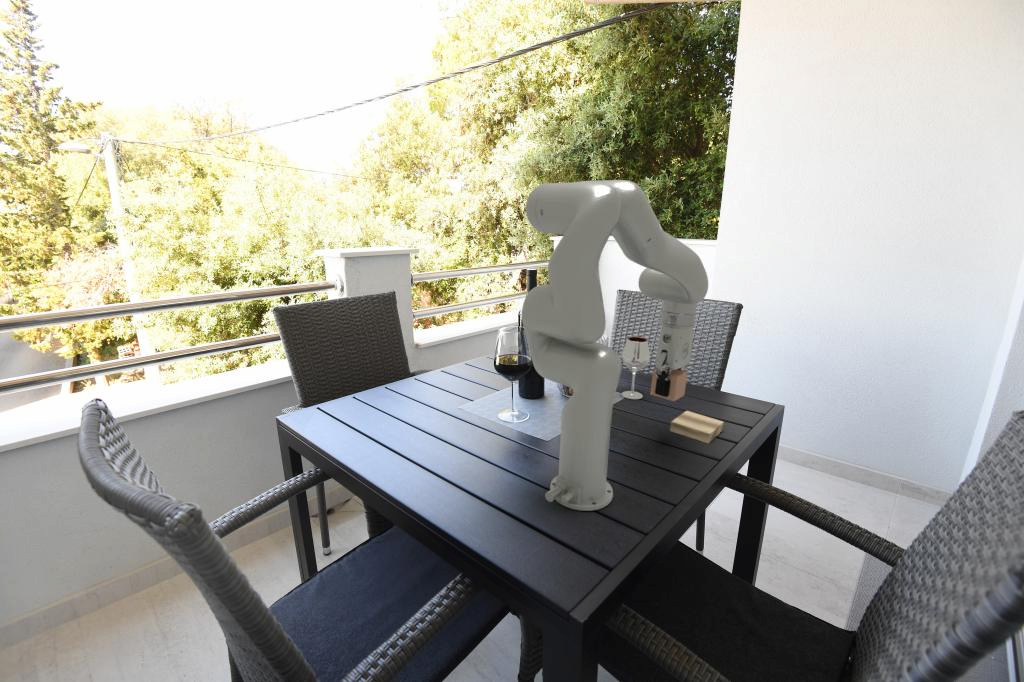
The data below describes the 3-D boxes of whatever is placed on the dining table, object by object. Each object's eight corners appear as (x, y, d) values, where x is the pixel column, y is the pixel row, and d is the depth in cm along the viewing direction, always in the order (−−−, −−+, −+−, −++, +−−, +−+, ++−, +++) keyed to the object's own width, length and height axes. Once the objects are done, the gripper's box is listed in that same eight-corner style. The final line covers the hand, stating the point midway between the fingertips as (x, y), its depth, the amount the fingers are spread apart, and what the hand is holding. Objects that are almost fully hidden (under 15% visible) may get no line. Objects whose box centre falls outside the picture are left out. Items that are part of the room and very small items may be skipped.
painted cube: (673, 401, 113) (677, 377, 112) (650, 394, 117) (653, 370, 115) (684, 395, 118) (687, 371, 116) (661, 388, 121) (664, 366, 120)
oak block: (708, 445, 120) (709, 434, 119) (669, 432, 126) (671, 421, 126) (722, 432, 127) (724, 421, 126) (685, 420, 134) (686, 410, 133)
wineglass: (648, 401, 145) (654, 343, 140) (621, 400, 145) (626, 342, 140) (642, 391, 153) (647, 336, 148) (616, 390, 153) (621, 335, 148)
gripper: (678, 326, 104) (667, 405, 108) (707, 317, 117) (696, 388, 121) (645, 320, 109) (636, 396, 113) (677, 312, 121) (668, 380, 126)
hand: (667, 391), depth 117 cm, fingers closed on painted cube, 6 cm apart
